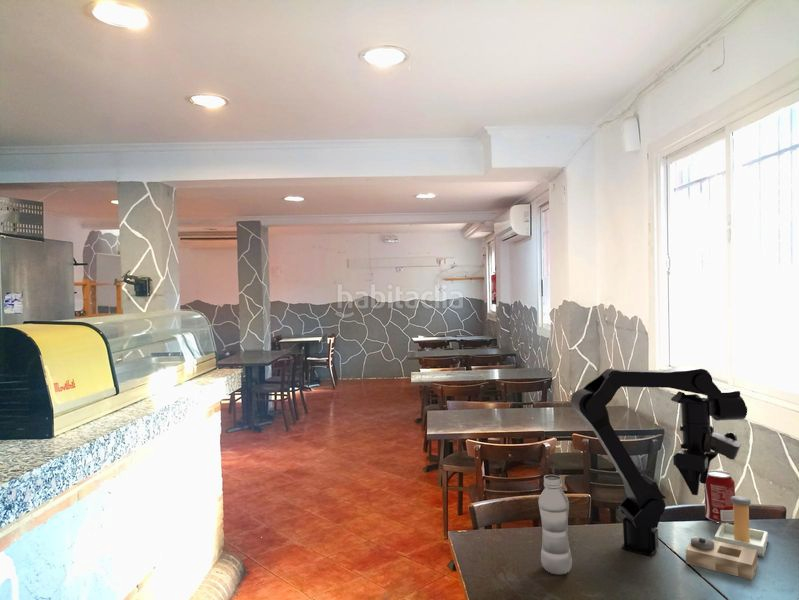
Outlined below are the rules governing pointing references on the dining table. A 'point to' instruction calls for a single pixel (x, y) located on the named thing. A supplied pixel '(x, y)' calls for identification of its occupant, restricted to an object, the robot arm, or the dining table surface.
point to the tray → (756, 541)
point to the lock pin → (741, 518)
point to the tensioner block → (722, 557)
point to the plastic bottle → (554, 527)
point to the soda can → (719, 496)
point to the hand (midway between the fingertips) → (699, 488)
